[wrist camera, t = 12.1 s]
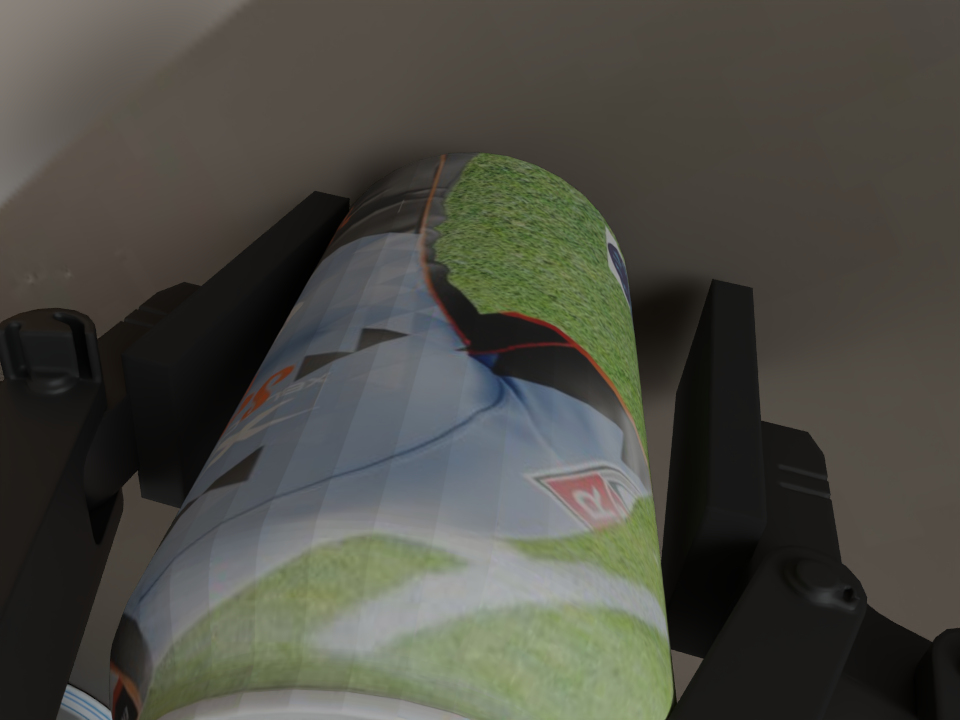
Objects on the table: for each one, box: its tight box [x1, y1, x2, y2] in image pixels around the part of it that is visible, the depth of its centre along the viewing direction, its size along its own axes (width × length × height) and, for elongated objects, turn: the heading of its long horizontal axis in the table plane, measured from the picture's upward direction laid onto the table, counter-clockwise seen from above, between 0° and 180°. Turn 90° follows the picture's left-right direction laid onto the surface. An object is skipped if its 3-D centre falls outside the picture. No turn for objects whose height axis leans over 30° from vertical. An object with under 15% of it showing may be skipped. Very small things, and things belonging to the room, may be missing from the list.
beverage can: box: [109, 152, 677, 720], centre depth 12 cm, size 6×7×12 cm
